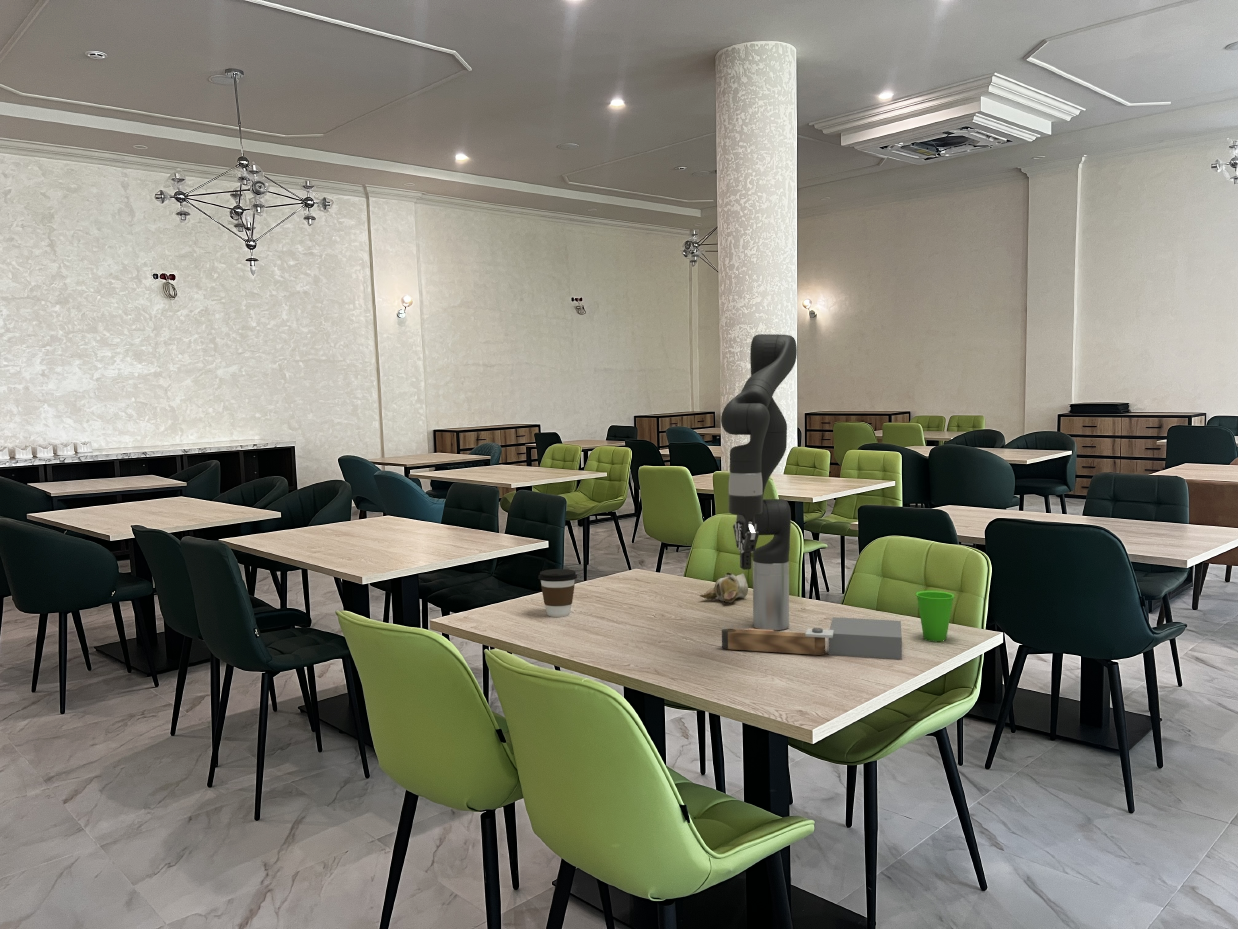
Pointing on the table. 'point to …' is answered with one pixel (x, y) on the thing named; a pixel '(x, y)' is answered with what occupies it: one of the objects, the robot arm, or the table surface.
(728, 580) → the ceramic sculpture
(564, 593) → the coffee cup
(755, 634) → the leg
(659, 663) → the table surface
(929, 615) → the cup
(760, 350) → the robot arm
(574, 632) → the table surface
